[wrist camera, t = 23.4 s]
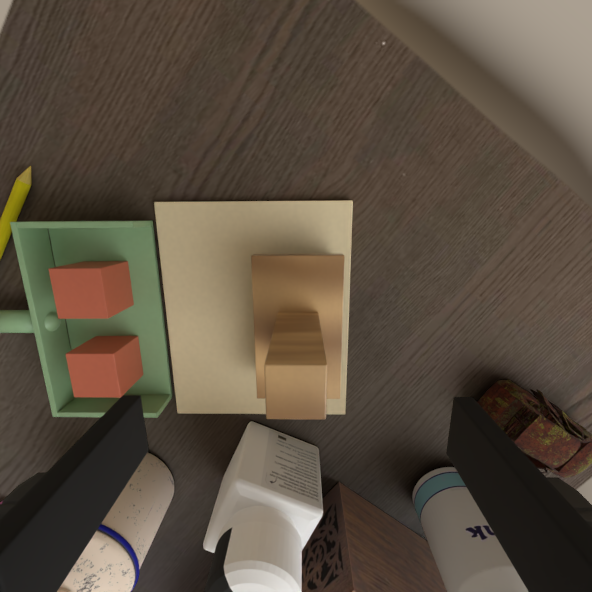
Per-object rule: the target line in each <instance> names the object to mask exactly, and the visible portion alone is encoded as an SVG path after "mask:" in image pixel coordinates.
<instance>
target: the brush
mask: <svg viewBox="0 0 592 592" xmlns="http://www.w3.org/2000/svg"><path fill="white" fill-rule="evenodd" d="M344 263H345V256H344V255H343V254H253V255H252V256H251V269H252V293H253V317H254V341H255V365H256V389H257V398H258V399H265V404H266V418H267V419H326V407H327V399H340V395H341V362H342V329H343V296H344Z"/></svg>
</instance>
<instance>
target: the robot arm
mask: <svg viewBox="0 0 592 592" xmlns="http://www.w3.org/2000/svg"><path fill="white" fill-rule="evenodd" d="M148 451H149V448H148V442H147V435H146V428H145V421H144V415H143V408H142V401H141V395H123V396H122V397H121V398H120V399H119V400H118V401H117V402H116V403H115V404H114V405H113V406H112V407H111V408H110V409H109V410H108V411H107V412H106V413H105V414H104V415H103V416H102V417H101V418H100V419H99V420H98V421H97V422H96V423H95V424H94V425H93V426H92V427H91V428H90V429H89V430H88V431H87V432H86V433H85V434H84V435H83V436H82V437H81V438H80V439H79V440H78V441H77V442H76V443H75V444H74V445H73V446H72V447H71V448H70V449H69V450H68V451H67V452H66V453H65V454H64V455H63V456H62V457H61V459H60V460H59V461H58V462H57V463H56V464H55V465H54V466H53V467H52V468H51V469H50V470H49V471H48V472H47V473H37V474H35V475H34V476H32V477H31V478H29V479H28V480H26V481H25V482H23V483H22V484H20V485H19V486H18V487H17V488H15V489H14V490H13V491H12V492H11V493H10V494H9V495H8V496H7V497H6V498H5V499H4V500H3V502H2V504H0V592H57V591H58V589H59V588H60V586H61V585H62V583H63V582H64V580H65V579H66V577H67V576H68V574H69V572H70V571H71V569H72V568H73V566H74V565H75V563H76V562H77V560H78V559H79V557H80V556H81V554H82V552H83V551H84V549H85V548H86V546H87V545H88V543H89V542H90V540H91V539H92V537H93V535H94V534H95V532H96V531H97V529H98V528H99V526H100V525H101V523H102V522H103V520H104V519H105V517H106V515H107V514H108V512H109V511H110V509H111V508H112V506H113V505H114V503H115V502H116V500H117V499H118V497H119V495H120V494H121V492H122V491H123V489H124V488H125V486H126V485H127V483H128V482H129V480H130V478H131V477H132V475H133V474H134V472H135V471H136V469H137V468H138V466H139V465H140V463H141V462H142V460H143V458H144V457H145V455H146V454H147V452H148ZM446 453H447V455H448V457H449V459H450V460H451V462H452V464H453V465H454V467H455V469H456V470H457V472H458V474H459V475H460V477H461V479H462V480H463V482H464V484H465V485H466V487H467V489H468V491H469V492H470V494H471V496H472V497H473V499H474V501H475V502H476V504H477V506H478V507H479V509H480V511H481V512H482V514H483V516H484V517H485V519H486V521H487V523H488V524H489V526H490V528H491V529H492V531H493V533H494V534H495V536H496V538H497V539H498V541H499V543H500V544H501V546H502V548H503V549H504V551H505V553H506V555H507V556H508V558H509V560H510V561H511V563H512V565H513V566H514V568H515V570H516V571H517V573H518V575H519V576H520V578H521V580H522V581H523V583H524V585H525V587H526V588H527V590H528V592H592V505H591V504H590V503H589V502H588V501H587V500H586V499H585V498H584V497H583V496H582V495H581V494H580V493H579V492H578V491H577V490H575V489H574V488H572V487H571V486H570V485H568V484H567V483H565V482H564V481H562V480H561V479H559V478H546V477H545V476H544V475H543V474H542V473H541V472H540V470H539V469H538V468H537V467H536V466H535V465H534V464H533V463H532V462H531V461H530V460H529V458H528V457H527V456H526V455H525V454H524V453H523V452H522V451H521V450H520V449H519V448H518V446H517V445H516V444H515V443H514V442H513V441H512V440H511V439H510V438H509V437H508V436H507V434H506V433H505V432H504V431H503V430H502V429H501V428H500V427H499V426H498V425H497V423H496V422H495V421H494V420H493V419H492V418H491V417H490V416H489V415H488V414H487V413H486V411H485V410H484V409H483V408H482V407H481V406H480V405H479V404H478V403H477V402H476V401H475V399H474V398H473V397H454V400H453V408H452V415H451V423H450V430H449V437H448V445H447V452H446Z"/></svg>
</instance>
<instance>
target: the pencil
mask: <svg viewBox="0 0 592 592" xmlns="http://www.w3.org/2000/svg"><path fill="white" fill-rule="evenodd" d="M31 185H32V177H31V166H29V167H28V168H27V169H26V170H25V171H24V172H23V173H22V174H21V175H20V176H19V177H18V178H17V179H16V181H15V184H14V186H13V189H12V191H11V194H10V196H9V199H8V201H7V204H6V206H5V209H4V211H3V214H2V216H1V219H0V260H1V257H2V255H3V252H4V250H5V248H6V245H7V243H8V240H9V238H10V236H11V233H12V229H11V225H10V222H16V221H17V219H18V216H19V214H20V212H21V209H22V207H23V204H24V202H25V199H26V197H27V195H28V192H29V190H30V187H31Z"/></svg>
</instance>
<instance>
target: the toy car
mask: <svg viewBox="0 0 592 592" xmlns="http://www.w3.org/2000/svg"><path fill="white" fill-rule="evenodd" d="M531 391H532V392H533V394H534V395H535V396H536V397H534V396H533V395H532V394H531V393H529V392H528V391H526V390H524V389H522V388H520V387H519V386H518V385H516V384H515V383H513V382H512V381H510V380H509V379H507V381H506V380H499V381H497V382H496V383H495V384H494V385H493V386H491V388H490V389H489V390H488V391H487V392H486V393H485V394H484V395H483V396H482V397H481V398H480V400H479V401H478V402H477V403H478V404H479V405H480V406H481V407H482V408H483V409H484V410H485V411H486V413H487V414H488V415H489V416H490V417H491V418H492V419H493V420H494V421H495V422H496V423H497V425H498V426H499V427H500V428H501V429H502V430H503V431H504V432H505V433H506V434H507V436H508V437H509V438H510V439H511V440H512V441H514V443H515V444H516V445H517V446H518V447H519V449H520V450H521V451H522V452H523V453H524V454H525V455H526V456H527V457H528V458H529V460H530V461H531V462H532V463H533V464H534V465H535V466H536V467H537V468H538V469H545V471H546V472H541V473H547V470H549V471H550V472H552V473H554V474H556V475H558V476H560V477H563V478H568V477H572V476H575V475H577V474H579V473H581V472H582V471H583V470H585V469H586V468H587V467H588V466H589V465H590V464H591V463H592V434H591V433H589V432H588V431H586V429H585V428H584V427H582V426H581V425H579V424H577V423H576V422H574V421H573V420H572V419H571V418H570V417H568V416H567V415H566V414H565V413H564V412H563V411H562V410H561V409H559V408H558V407H556V406H555V405H554V404H552V403H551V402H549V401H548V400H547V399H546V398H545V396H544V395H543V394H542V392H540V391H539V390H538V389H537V392H538V393H537V392H535V391H533V390H531ZM555 410H556V411H555ZM546 469H547V470H546Z"/></svg>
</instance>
